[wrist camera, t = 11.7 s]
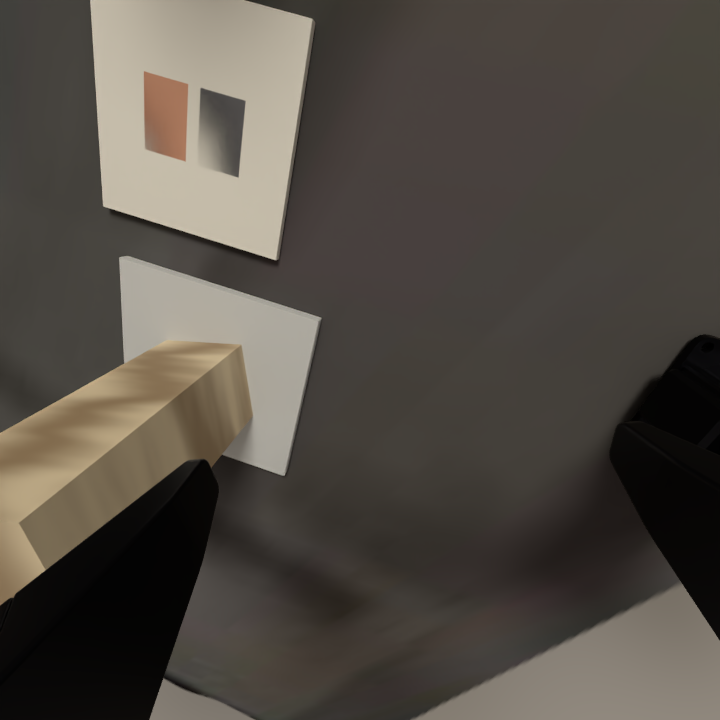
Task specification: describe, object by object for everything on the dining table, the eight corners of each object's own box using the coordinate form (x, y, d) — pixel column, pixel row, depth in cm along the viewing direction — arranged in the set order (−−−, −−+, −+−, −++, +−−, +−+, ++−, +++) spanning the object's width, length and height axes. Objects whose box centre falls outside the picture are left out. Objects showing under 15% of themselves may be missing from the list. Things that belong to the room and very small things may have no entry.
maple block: (241, 344, 22) (18, 522, 10) (253, 415, 24) (80, 631, 12) (166, 340, 22) (-119, 499, 11) (184, 408, 25) (-40, 604, 13)
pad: (321, 317, 21) (318, 321, 20) (287, 470, 26) (284, 476, 25) (127, 255, 21) (119, 257, 21) (133, 417, 27) (126, 421, 26)
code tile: (315, 22, 15) (312, 18, 15) (278, 259, 20) (276, 260, 19) (95, -39, 16) (87, -44, 15) (109, 206, 20) (103, 206, 20)
